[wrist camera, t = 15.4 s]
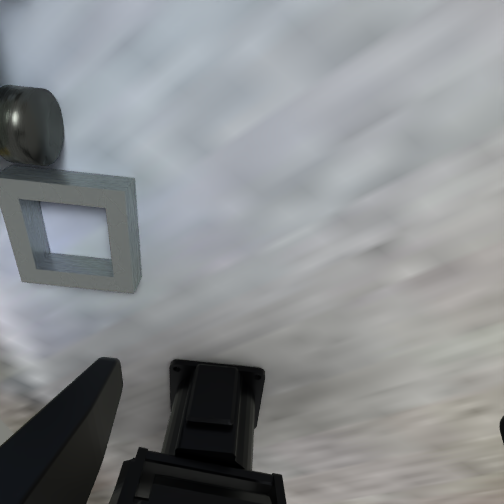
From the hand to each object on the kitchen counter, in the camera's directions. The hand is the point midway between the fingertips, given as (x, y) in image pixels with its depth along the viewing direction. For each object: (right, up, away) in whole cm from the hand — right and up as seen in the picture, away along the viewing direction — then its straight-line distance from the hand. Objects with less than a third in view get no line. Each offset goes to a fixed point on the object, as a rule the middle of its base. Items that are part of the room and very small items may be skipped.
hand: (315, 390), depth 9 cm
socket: (-11, +5, +13) cm, 17 cm away
